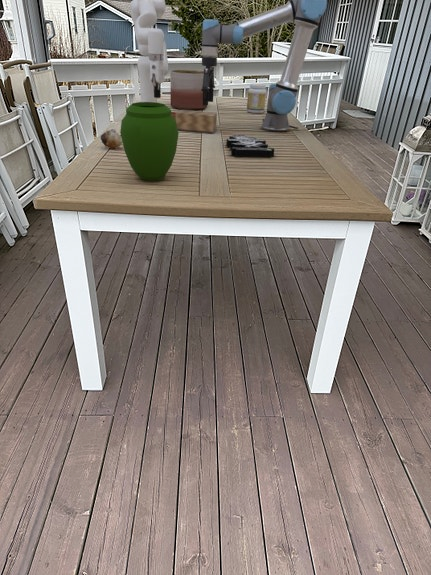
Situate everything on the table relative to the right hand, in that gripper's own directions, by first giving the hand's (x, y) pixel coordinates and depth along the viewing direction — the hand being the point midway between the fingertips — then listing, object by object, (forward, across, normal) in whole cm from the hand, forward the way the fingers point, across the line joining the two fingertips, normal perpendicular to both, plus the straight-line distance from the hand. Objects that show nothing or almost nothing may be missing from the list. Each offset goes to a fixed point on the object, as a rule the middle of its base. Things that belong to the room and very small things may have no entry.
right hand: (207, 103), depth 212 cm
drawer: (+13, 0, +19) cm, 23 cm away
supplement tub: (+14, +74, -19) cm, 77 cm away
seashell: (+14, -52, +32) cm, 63 cm away
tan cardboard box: (+14, 0, +6) cm, 15 cm away
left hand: (-1, 0, +27) cm, 27 cm away
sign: (+14, -32, -25) cm, 43 cm away
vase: (+14, -88, +3) cm, 89 cm away
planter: (+14, +71, +27) cm, 77 cm away
